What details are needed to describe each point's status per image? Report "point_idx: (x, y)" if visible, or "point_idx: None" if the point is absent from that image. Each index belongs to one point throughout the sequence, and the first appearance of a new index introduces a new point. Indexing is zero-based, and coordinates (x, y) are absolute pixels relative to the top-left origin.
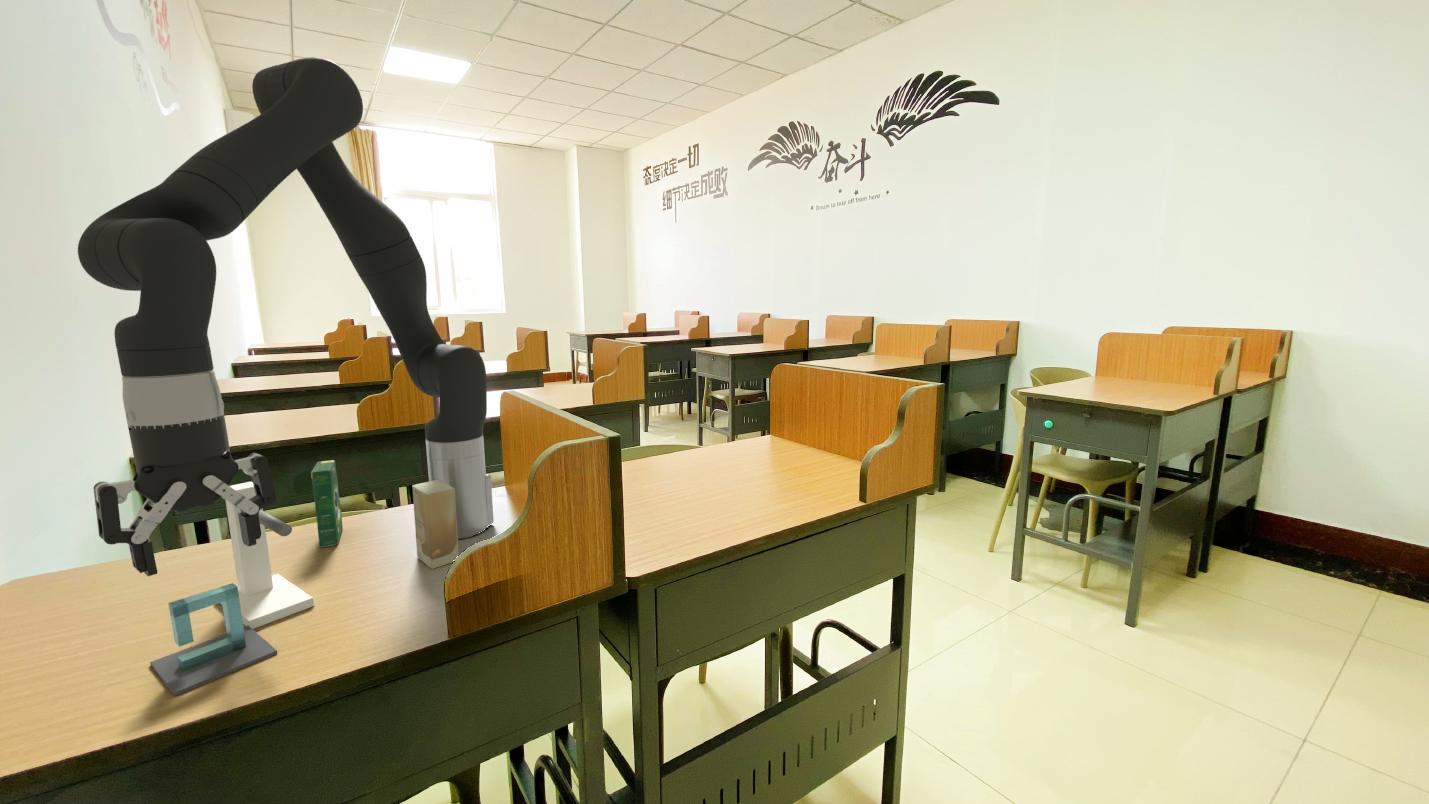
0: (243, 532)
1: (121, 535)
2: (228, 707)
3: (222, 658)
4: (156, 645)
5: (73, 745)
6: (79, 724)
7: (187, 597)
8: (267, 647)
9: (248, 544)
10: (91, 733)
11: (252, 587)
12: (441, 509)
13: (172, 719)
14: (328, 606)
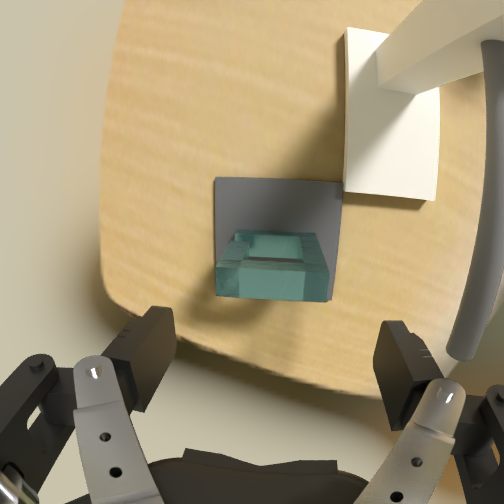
0: (388, 358)
1: (74, 428)
2: (249, 359)
3: (281, 258)
4: (237, 113)
5: (137, 297)
6: (141, 260)
7: (246, 270)
8: (329, 281)
9: (374, 362)
10: (149, 290)
11: (392, 86)
12: None
13: (206, 334)
14: (436, 220)
